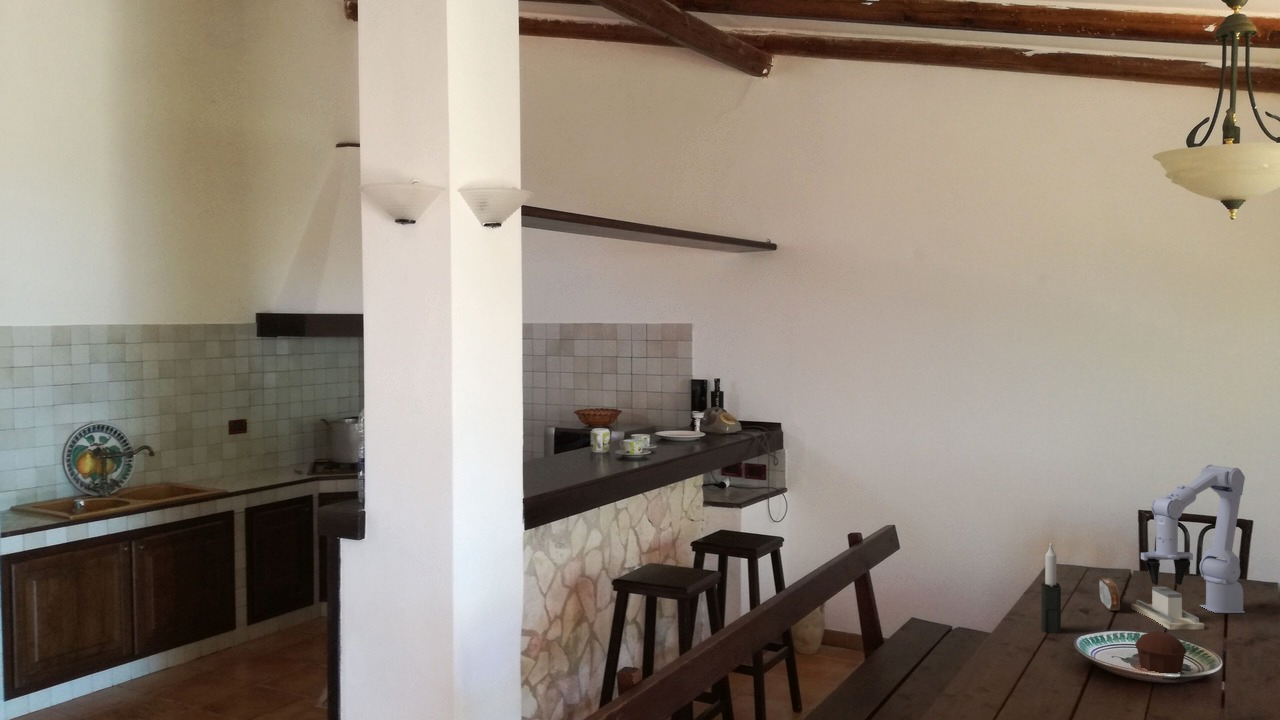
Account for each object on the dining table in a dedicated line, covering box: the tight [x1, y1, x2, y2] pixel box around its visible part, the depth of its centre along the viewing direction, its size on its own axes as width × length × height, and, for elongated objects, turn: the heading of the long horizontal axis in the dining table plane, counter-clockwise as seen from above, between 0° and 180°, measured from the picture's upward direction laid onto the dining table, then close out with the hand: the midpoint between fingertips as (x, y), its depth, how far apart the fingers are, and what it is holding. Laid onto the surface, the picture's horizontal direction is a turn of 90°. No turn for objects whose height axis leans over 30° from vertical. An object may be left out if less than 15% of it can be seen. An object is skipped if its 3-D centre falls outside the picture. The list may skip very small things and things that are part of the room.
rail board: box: [1131, 599, 1205, 631], centre depth 295 cm, size 10×22×3 cm, turn 0°
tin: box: [1098, 577, 1121, 612], centre depth 308 cm, size 15×3×8 cm, turn 168°
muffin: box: [1135, 630, 1187, 673], centre depth 247 cm, size 12×11×10 cm
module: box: [1151, 586, 1183, 618], centre depth 295 cm, size 4×9×7 cm, turn 0°
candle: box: [1040, 542, 1062, 634], centre depth 284 cm, size 5×5×25 cm
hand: (1166, 583), depth 295 cm, fingers open, 6 cm apart
